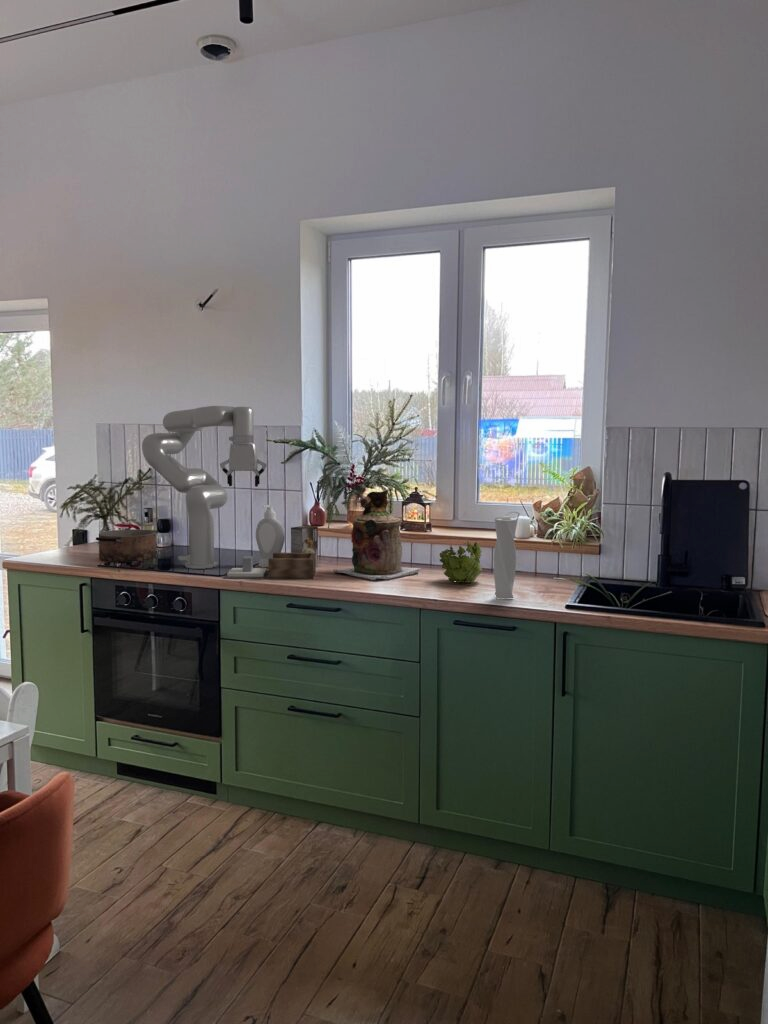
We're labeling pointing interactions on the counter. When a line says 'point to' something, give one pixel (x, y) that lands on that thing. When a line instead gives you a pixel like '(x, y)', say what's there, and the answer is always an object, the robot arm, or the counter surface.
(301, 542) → the coffee box
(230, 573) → the lid
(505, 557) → the white faceted vase
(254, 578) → the mat
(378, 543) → the rustic painted jar
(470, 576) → the green rounded bumpy piece
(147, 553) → the cooking pot
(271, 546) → the soap bottle
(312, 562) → the box
